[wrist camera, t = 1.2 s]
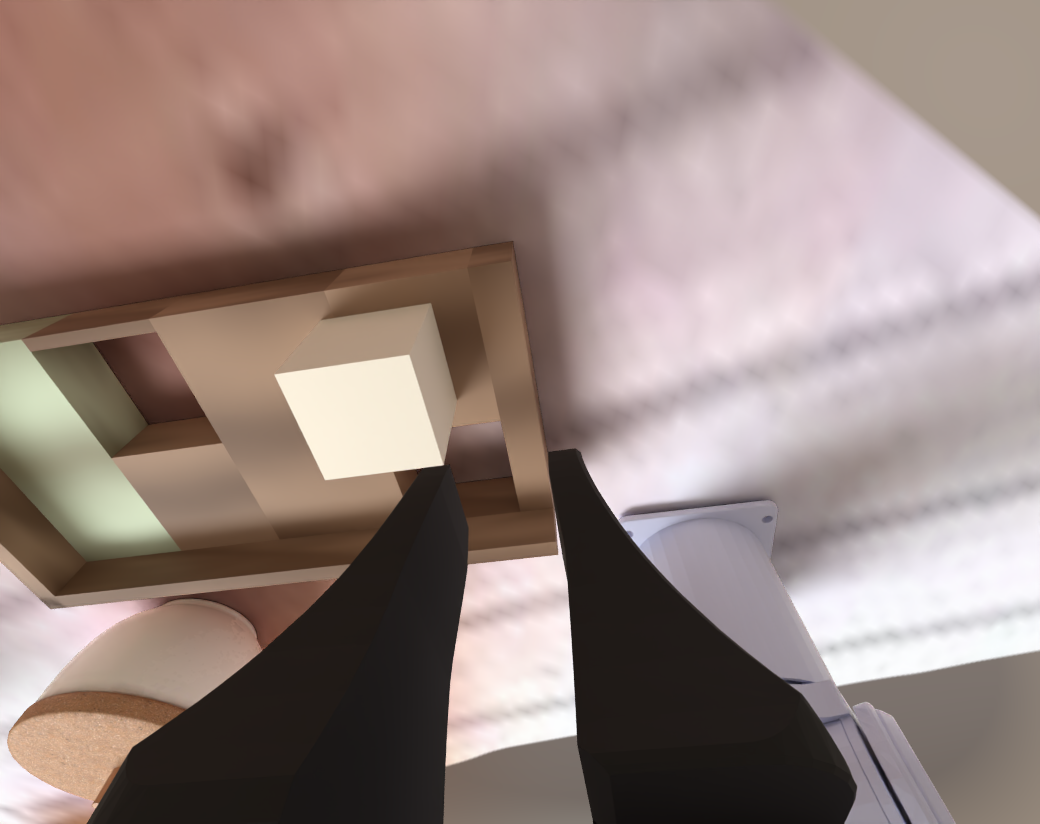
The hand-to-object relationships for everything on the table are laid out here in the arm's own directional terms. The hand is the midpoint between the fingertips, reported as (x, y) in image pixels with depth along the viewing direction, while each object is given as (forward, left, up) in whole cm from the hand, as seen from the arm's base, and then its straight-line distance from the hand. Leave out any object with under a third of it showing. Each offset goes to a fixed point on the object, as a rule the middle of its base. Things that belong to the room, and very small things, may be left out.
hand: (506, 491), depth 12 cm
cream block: (0, +4, -8) cm, 9 cm away
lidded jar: (-17, +22, -11) cm, 30 cm away
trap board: (-3, +11, -10) cm, 16 cm away
